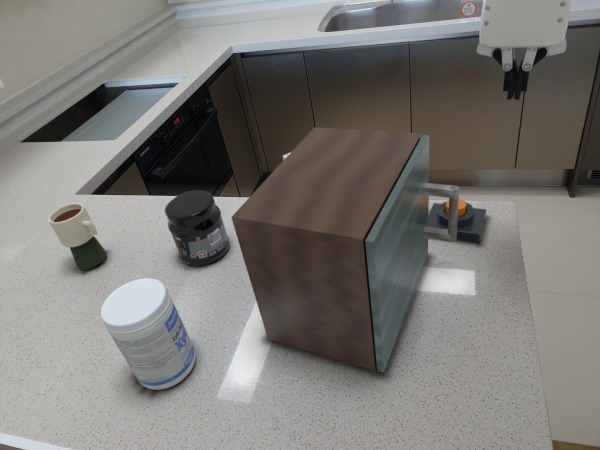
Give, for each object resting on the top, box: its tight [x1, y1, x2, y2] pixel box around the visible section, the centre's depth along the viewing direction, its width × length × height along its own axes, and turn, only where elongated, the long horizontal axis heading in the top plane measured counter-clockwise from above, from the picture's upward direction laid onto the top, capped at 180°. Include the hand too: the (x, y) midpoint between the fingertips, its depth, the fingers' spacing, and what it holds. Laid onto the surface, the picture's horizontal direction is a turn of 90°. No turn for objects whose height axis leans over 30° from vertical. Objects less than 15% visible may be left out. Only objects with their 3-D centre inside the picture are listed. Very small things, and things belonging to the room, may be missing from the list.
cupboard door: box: [365, 134, 460, 374], centre depth 66 cm, size 6×26×24 cm, turn 154°
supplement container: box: [164, 189, 230, 266], centre depth 92 cm, size 10×10×12 cm
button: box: [445, 198, 467, 217], centre depth 86 cm, size 4×4×2 cm
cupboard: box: [230, 126, 422, 372], centre depth 72 cm, size 18×26×24 cm
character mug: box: [47, 202, 108, 271], centre depth 95 cm, size 11×7×13 cm, turn 70°
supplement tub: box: [100, 277, 197, 391], centre depth 68 cm, size 10×10×15 cm
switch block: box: [428, 200, 487, 244], centre depth 88 cm, size 10×8×4 cm
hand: (514, 95), depth 64 cm, fingers closed
